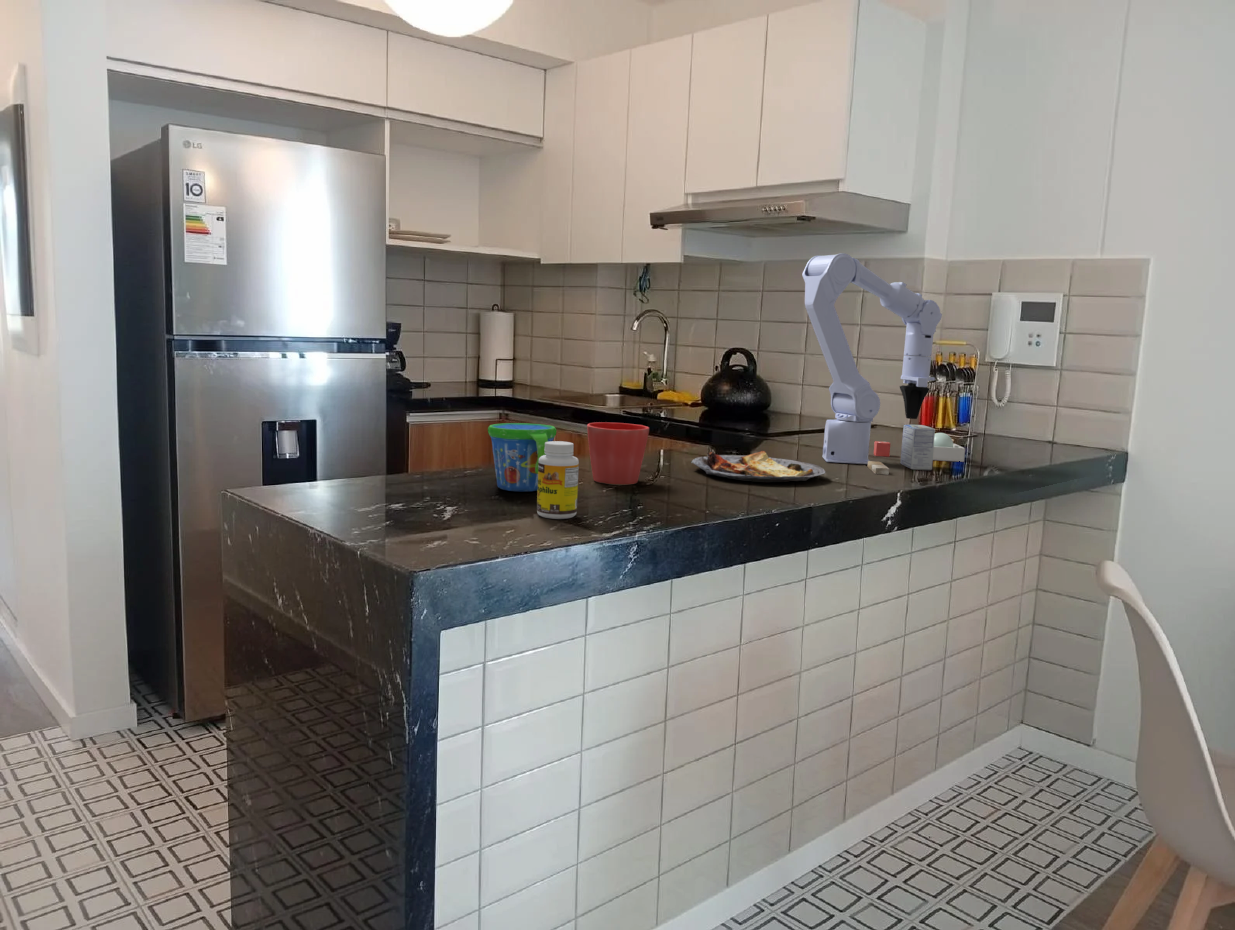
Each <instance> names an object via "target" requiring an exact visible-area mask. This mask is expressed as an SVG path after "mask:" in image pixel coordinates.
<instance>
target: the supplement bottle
mask: <svg viewBox="0 0 1235 930" xmlns="http://www.w3.org/2000/svg"><path fill="white" fill-rule="evenodd" d="M574 447H575V446H574V443H573V442H570V441H562V440H559V441H558V440H557V441H556V440H553V441H550V442H545V449H544V451H545V452H544V453H545V454H546V455H543V456H541V457H540V458H539V462H538V490H537V491H536V493H537V495H536V497H537V498H536V512H537V515H538V516H540V517H542V518H545V519H552V520H565V519H572V518H574V517H575V516H576V515H577V512H578V511H577V510H578V493H579V492H578V491H579V488H578V487H579V465H580V463H579V461H580V460H579V458H578V457H576V456H574Z"/></svg>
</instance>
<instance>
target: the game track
mask: <svg viewBox="0 0 1235 930" xmlns="http://www.w3.org/2000/svg"><path fill="white" fill-rule="evenodd" d="M867 468H868V469H869V470H870V471H872V472H873V473H874V474H875V475H876V474H877V475H887V476H888V475H890V474H889V473H890V468H889V467H888V466H887V465H885V464H884V463H883V462H881V461H874V460H873V461H871V460H870V461H868V464H867Z"/></svg>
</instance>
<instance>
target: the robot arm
mask: <svg viewBox="0 0 1235 930" xmlns="http://www.w3.org/2000/svg"><path fill="white" fill-rule="evenodd" d="M801 275H802V276H801V277H802V278H803V281H804V307H805V310H806V313H807V315H808V318H809V321H810V322H811V323H810V324H811V326H812V328H813V331H814V334H815V337H816V339H817V341H818V344H819V347H820V349H821V352H822V355H823V357H824V360H825V363H826V365H827V368H828V371H829V374H830V376H831V379H832V383H831V384H830V386H829V388H828V391H829V395H830V407H831V408H830V409H831V410H832V411H833V413H834V415H835V417H834V419H826V421H825V424H824V425H825V426H824V436H823V446H822V456H821V457H822V458H823V460H824V461H825V462H826V463H838V464H839V463H840V464H858V465H868V461H871V460H870V459H869V453H870V452H869V451H870V441H871V430H872V429H871V428H872V422H874V418H875V417H876V416H877V415H878V413H879V411H880V409H881V400H880V397H879V395H878V393H876V391H874V390H873V388H872V386H871V384H870V382H869V381H868V380H867V379H866V378H865V377H863V376H862V374H861V373H859V370H858V367H857V365H856V362H855V359H854V356H853V354H852V350H851V347H850V345H849V341H848V340H847V337H846V333H845V332H844V329H843V326H842V323H841V321H840V317H839V315H838V312H837V310H836V307H835V304H836V302H837V300H838V298H839V297H840V296H841V294H842V293H844V291H845V290H846V288H847V287H848V286H849V285H850V283H851V284H853V285H855V286H857V287H859V288H861V289H863V290H865V291H866V292H868V293H871V294H872V295H874V296H876V297H877V298H879V303H880V306H882V307H883V308H885V309H887V310H888V311H889V312H891V313H893V314H895V315H897V317H900V318H901V321H902V323H903V324H904V325H905V326H906V327H905V328H906V329H905V337H904V347H903V348H904V349H903V350H904V351H903V359H902V372H901V375H900V380H902V383H903V384H905V385H899V389H900V392H901V394H902V398H903V403H904V415H905V418H906V419H910V420H911V419H912V420H918V417H919V414H920V413H921V412H920V411H921V409H922V404H923V402H924V400H925V398H926V396H927V394H928V393H929V391H930V388H929V387H928V382H930V381H936V380H935V379H936V377H934V376H933V377H932V376H930V375H931V374H930V373H931V372H930V371H931V365H932V363H931V362H932V354H933V343H934V335H935V333H936V332H937V331H936V330H937V326H938V325H939V323H940V322H941V320H942V317H943V313H941V309H940V306H939V305H938V303H937V302H936V301H934V299H933V300H932V299H924V298H923V294H921V293H920V292H919V293H918V292H915V291H912V289H909V288H908V287H907V284H906V283H905V282H904V281H902V282H901V281H898V282H897V281H894V282H891V283H889V282H887V281H886V280H885V279H883V278H882V277H880V276H879V275H877V274H876V273H875V272H873V271H872V270H870V269H869V268H868V267H866V266H865V265H863V264H862V263H861V261H860V260H859V259H857V258H855V257H852V256H851V255H850V254H848V253H844V252H842V253H841V252H839V253H837V254H828V255H819V254H818V255H814V256H812V257H811V258H810V259H809V260H808V261H807V263H806V265H805V267H804V270H802V274H801Z"/></svg>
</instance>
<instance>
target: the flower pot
mask: <svg viewBox="0 0 1235 930" xmlns="http://www.w3.org/2000/svg"><path fill="white" fill-rule="evenodd" d="M586 427H587V428H586V429H587V430H586V432H587V440H588V441H587V443H588V449H589V450H588V451H589V458H590V467H591V472H592V473H591V474H592V480H593V481H594V482H596V483H599V484H606V485H610V486H611V485H614V486H615V485H616V486H627V485H630V486H631V485H635V484H637V483H638V482H639V478H640V473H641V470H642V464H643V461H644V455H645V452H646V447H647V443H648V439H649V438H648V437H649V433H650V427H649V426H646V425H643V424H634V423H626V422H625V423H624V422H607V421H605V422H602V421H601V422H600V421H599V422H597V421H596V422H589V423H587V425H586Z"/></svg>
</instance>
